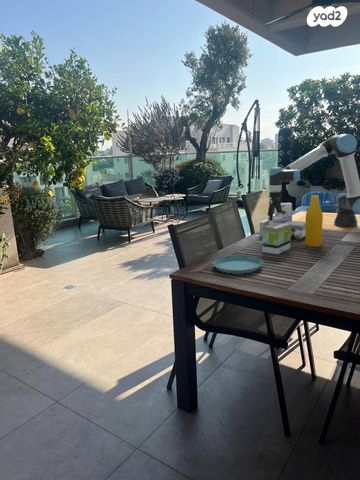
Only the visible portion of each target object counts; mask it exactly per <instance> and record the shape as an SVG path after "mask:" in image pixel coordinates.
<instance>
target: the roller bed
mask: <svg viewBox="0 0 360 480" xmlns="http://www.w3.org/2000/svg"><path fill="white" fill-rule="evenodd" d="M305 228H306V227H305ZM305 228H304V229H302V230H299V229H291V238H292V237H293V238H294V239H296V240H301V239H303V238H305Z"/></svg>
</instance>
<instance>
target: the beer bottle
mask: <svg viewBox="0 0 360 480" xmlns="http://www.w3.org/2000/svg"><path fill="white" fill-rule="evenodd" d="M309 200H310V201H309V206H308V208H307V211H306V213H305V222H306V228H305V236H304V239H305V240H304V245H305V246H307V247H310V248H318V247H322V244H323V218H324V215H323V211H322V208H321V205H320V196H319V195H316V194H315V195H310V199H309Z"/></svg>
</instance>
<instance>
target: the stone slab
mask: <svg viewBox="0 0 360 480" xmlns="http://www.w3.org/2000/svg"><path fill="white" fill-rule="evenodd" d="M285 224H291V229H299V230H302V229H304V228H305V227H306V221H300V220H292V221H289V222H287V223H285Z"/></svg>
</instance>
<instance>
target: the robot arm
mask: <svg viewBox="0 0 360 480" xmlns="http://www.w3.org/2000/svg"><path fill="white" fill-rule="evenodd" d="M357 145H358V141H357V139H356V136H354V135H352V133H351V134H350V133H342V134H335V135H332V136H330V137H329V138H327V139H326V140H324V141H322V142H321V143H319V144H318V146H317V147H316V148H314V149H312V150H311V151H308V153H306V154H304V155H303V156H301V157H299V158H298V159H296V160H295V161H293V162H291V163H289V164H288V165H286V166H285V167H280V166H279V167H270V169H269V178H268V179H269V186H268V188H269V189H268V190H269V193H268V194H269V196H268V197H269V198H270V199H269V204H268V211H267V217H268V216H269V225H271V224H274V223H273V222H274V216H273V213H274V209H275V207H276V211H277V213H279V214H280V212H282V208H281V203H282V201H281V200H282V199H281V197H282V183H284V182H285V183H286V182H288V183H289V182H298V181H300V179H301V173H300V172H301V171H302V170H304V169H306V168H307V167H309V166H310V165H312V164H313V163H316V162H317V161H319V160H320V159H322V158H323V157H328V156H330V155H333V154H335V157H336V159H338V160H339V163H340V168H341V171H342V176H343V180H344V183H345V187H346V188H345V189H346V191H347V192H346V193H344V192H343V193H339V194H338V196H337V207H336V208H337V209H336V210H337V211H336V217H335V219H334V221H333V225H334V226H337V227H343V228H344V227H345V228H346V227H348V228H350V227H352V228H353V227H357V226H358V220H357V217H356V215H360V177H359V173H358V168H357V163H356V160H355V154H356V148H357V147H358V146H357ZM277 213H276V214H277ZM278 222H280V221H278ZM356 225H357V226H356Z"/></svg>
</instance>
